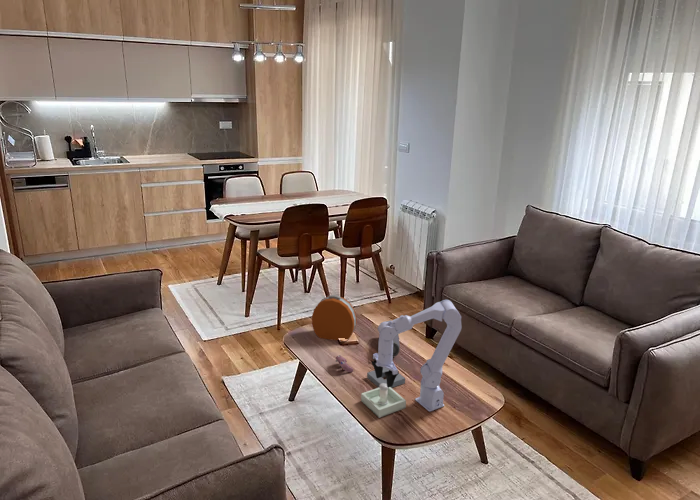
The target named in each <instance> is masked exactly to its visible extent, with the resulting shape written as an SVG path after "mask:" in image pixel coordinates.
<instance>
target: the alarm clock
mask: <svg viewBox="0 0 700 500" xmlns="http://www.w3.org/2000/svg"><path fill="white" fill-rule="evenodd" d="M357 317H358V316H357V314H356V311H355V308H354V306H353V305H352V303H351V302H350V301H348V300H347V299H346V298H345V297H342V296H339V295H335V294H330V295H327V296H325V297H324V298H322V299H321V300H320V301H319V302H318V303H317V305H316V306H315V308H314V309H313V312H312V315H311V326H312V329H313V331H314V333H315V334H316V335H315V336H317V337H318V338H319V339H324V340H329V341H330V340H331V341H337V340H338V338H345V339H348V340H350V338H351V336H352V335H353V334H354V332H355V331H356V328H357V324H358V320H357Z"/></svg>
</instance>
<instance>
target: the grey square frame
mask: <svg viewBox="0 0 700 500" xmlns="http://www.w3.org/2000/svg"><path fill="white" fill-rule="evenodd" d="M387 371H389V370H388V369H386V368H384V367H383V372H382V377H380V378H377V377H376V373H375V369H374V370H370V371H367V373H366V378H367V379H368V380H369V381H370V382H372V383H373V384H374V386H376V388H379V385H380V384H381V383H386V384H387V379H386V375H385V372H387ZM384 378H385V379H384ZM404 384H406V378H405V377H404V376H403V375H402V374H401V373H399V374H398V375H397V376H396V378H395V380H394V383H393V386H392V387H391V388H392V389H394V388H395V387H396V388H397V387H399V386H401V385H404Z"/></svg>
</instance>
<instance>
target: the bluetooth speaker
mask: <svg viewBox="0 0 700 500" xmlns="http://www.w3.org/2000/svg"><path fill="white" fill-rule="evenodd" d="M385 321H386V322H388V321H389V320H385ZM400 350H401V348H400V336H399V334H398V333H397V335H396V336H395V337H394V338H393V358H395V357H397V356H398V355H399V353H400Z"/></svg>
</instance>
